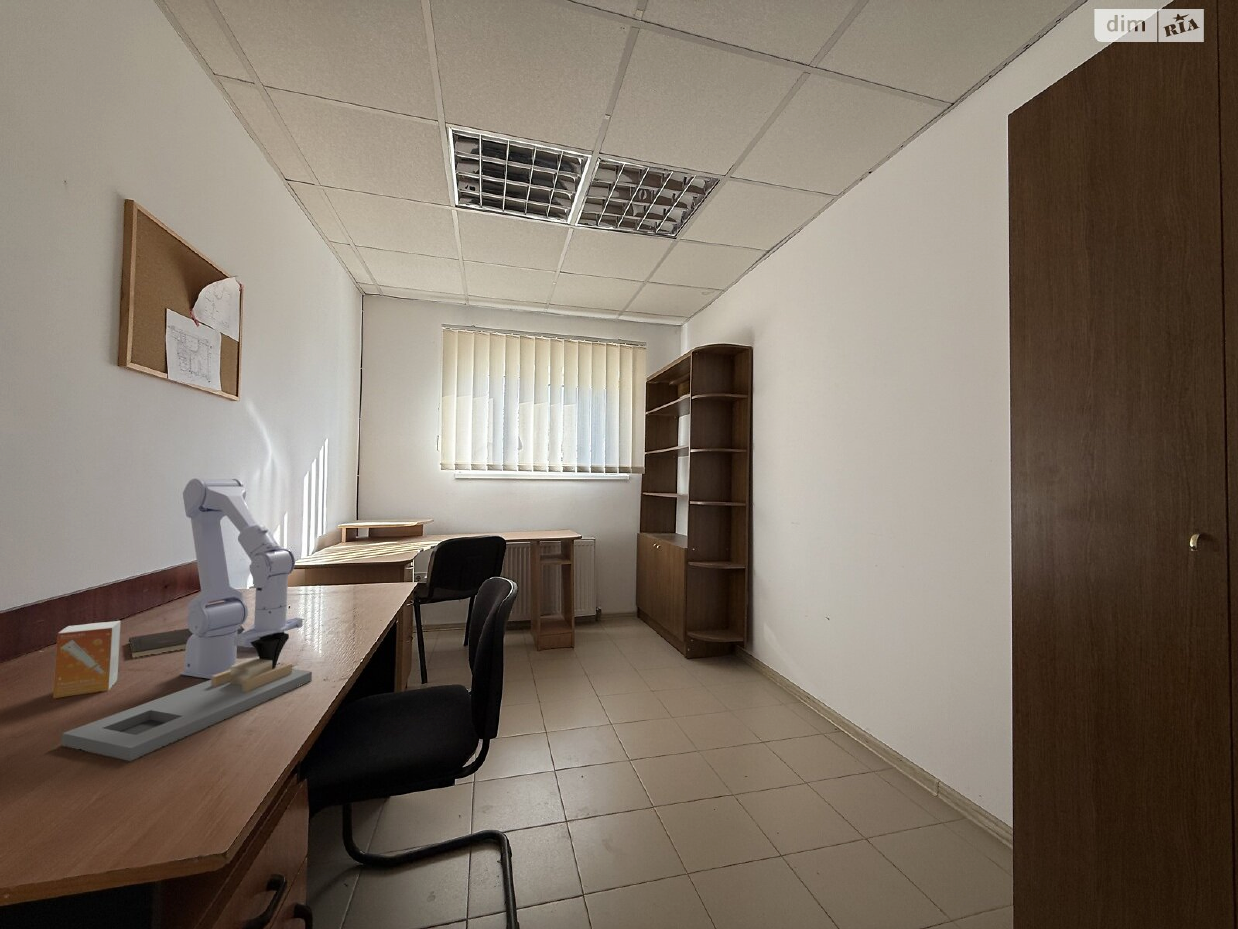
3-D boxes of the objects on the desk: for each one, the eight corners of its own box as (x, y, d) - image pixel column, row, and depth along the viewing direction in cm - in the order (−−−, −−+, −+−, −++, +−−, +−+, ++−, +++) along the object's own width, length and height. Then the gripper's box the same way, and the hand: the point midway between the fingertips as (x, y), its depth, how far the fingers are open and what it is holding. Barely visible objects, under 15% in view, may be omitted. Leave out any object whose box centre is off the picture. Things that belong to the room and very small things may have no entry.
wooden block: (230, 683, 103) (230, 666, 103) (253, 674, 108) (254, 658, 108) (248, 686, 102) (249, 668, 102) (271, 677, 106) (272, 660, 107)
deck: (61, 745, 82) (62, 720, 82) (255, 672, 114) (255, 655, 114) (130, 761, 78) (131, 735, 78) (311, 681, 110) (312, 662, 110)
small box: (52, 699, 99) (56, 633, 99) (64, 688, 104) (67, 625, 105) (109, 690, 103) (112, 627, 104) (118, 680, 109) (121, 619, 109)
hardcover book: (247, 640, 138) (247, 632, 138) (130, 661, 122) (131, 651, 122) (236, 628, 149) (236, 620, 149) (128, 645, 133) (128, 636, 133)
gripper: (253, 616, 101) (250, 684, 101) (314, 600, 115) (312, 660, 115) (226, 613, 103) (224, 680, 102) (289, 598, 117) (287, 657, 116)
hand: (268, 669), depth 109 cm, fingers closed
